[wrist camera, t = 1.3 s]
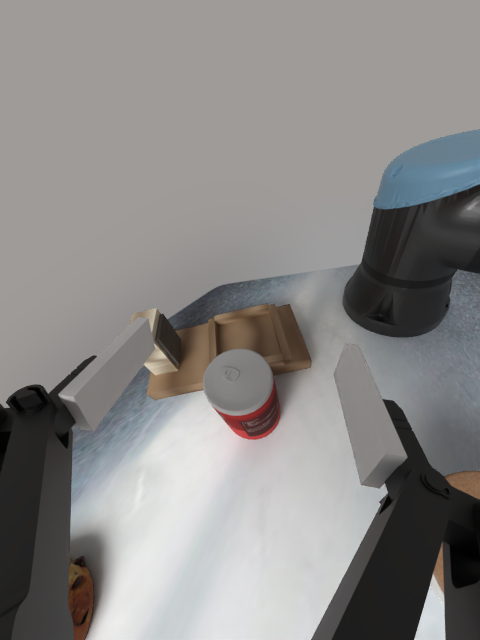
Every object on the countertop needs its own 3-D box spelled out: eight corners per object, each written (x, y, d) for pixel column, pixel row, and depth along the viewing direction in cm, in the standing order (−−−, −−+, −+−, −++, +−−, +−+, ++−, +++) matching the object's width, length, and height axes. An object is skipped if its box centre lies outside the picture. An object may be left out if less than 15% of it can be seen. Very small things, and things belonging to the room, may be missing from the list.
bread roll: (36, 603, 27) (-73, 673, 20) (79, 520, 27) (-12, 561, 21) (67, 706, 21) (-66, 849, 15) (118, 601, 22) (14, 691, 15)
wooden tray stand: (290, 313, 43) (286, 263, 34) (310, 367, 35) (312, 320, 26) (163, 342, 45) (130, 302, 37) (154, 399, 37) (110, 365, 28)
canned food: (235, 382, 36) (215, 344, 28) (284, 391, 33) (279, 352, 25) (219, 433, 31) (190, 404, 23) (275, 448, 29) (265, 421, 21)
